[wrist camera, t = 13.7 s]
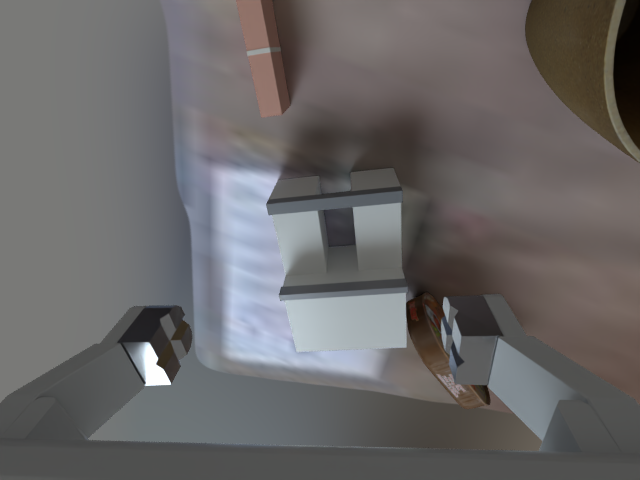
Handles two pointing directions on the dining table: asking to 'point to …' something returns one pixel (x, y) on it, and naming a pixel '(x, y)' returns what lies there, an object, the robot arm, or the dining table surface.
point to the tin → (439, 350)
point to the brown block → (264, 55)
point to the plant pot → (592, 62)
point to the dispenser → (342, 263)
